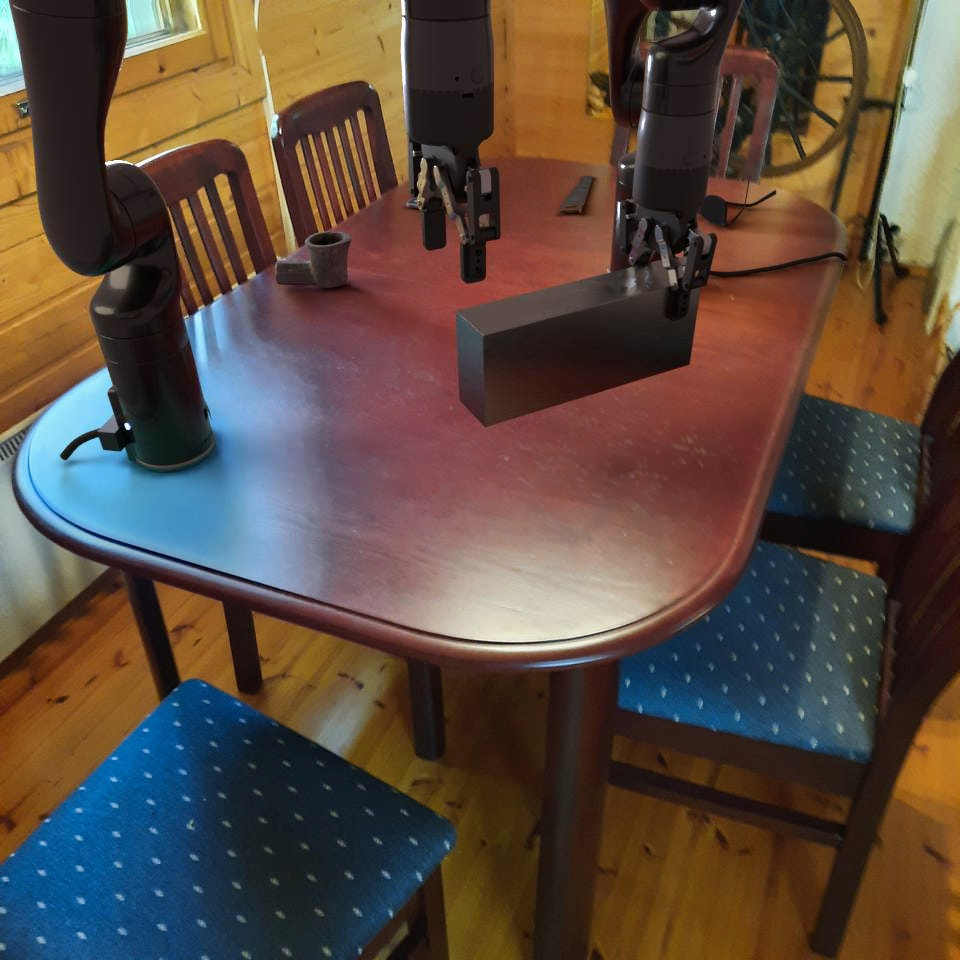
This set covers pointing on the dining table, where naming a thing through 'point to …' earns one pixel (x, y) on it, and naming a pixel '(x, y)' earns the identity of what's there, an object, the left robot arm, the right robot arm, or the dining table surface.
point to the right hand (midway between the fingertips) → (657, 306)
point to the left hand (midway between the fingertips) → (453, 264)
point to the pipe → (318, 262)
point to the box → (569, 342)
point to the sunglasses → (724, 208)
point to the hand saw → (577, 197)
